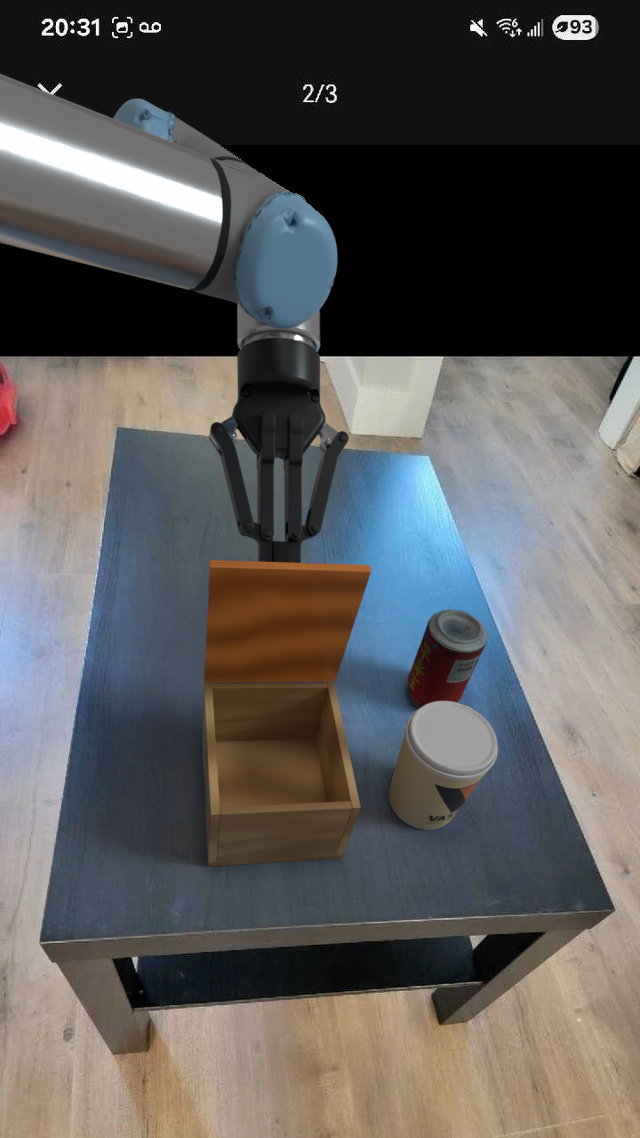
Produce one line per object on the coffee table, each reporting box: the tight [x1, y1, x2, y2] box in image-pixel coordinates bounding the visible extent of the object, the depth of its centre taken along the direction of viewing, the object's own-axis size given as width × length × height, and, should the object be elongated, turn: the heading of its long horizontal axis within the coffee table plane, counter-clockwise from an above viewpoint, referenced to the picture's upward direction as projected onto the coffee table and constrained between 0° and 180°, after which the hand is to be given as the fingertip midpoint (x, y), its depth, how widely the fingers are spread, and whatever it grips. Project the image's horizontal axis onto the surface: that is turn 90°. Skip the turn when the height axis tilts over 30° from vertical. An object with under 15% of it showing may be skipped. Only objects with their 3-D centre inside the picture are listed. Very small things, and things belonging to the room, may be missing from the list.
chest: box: [201, 681, 362, 867], centre depth 70 cm, size 16×14×10 cm
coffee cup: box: [388, 701, 499, 831], centre depth 72 cm, size 9×9×12 cm
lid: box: [203, 559, 372, 683], centre depth 64 cm, size 16×14×1 cm
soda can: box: [407, 609, 488, 709], centre depth 82 cm, size 7×7×12 cm
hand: (279, 613), depth 64 cm, fingers closed
